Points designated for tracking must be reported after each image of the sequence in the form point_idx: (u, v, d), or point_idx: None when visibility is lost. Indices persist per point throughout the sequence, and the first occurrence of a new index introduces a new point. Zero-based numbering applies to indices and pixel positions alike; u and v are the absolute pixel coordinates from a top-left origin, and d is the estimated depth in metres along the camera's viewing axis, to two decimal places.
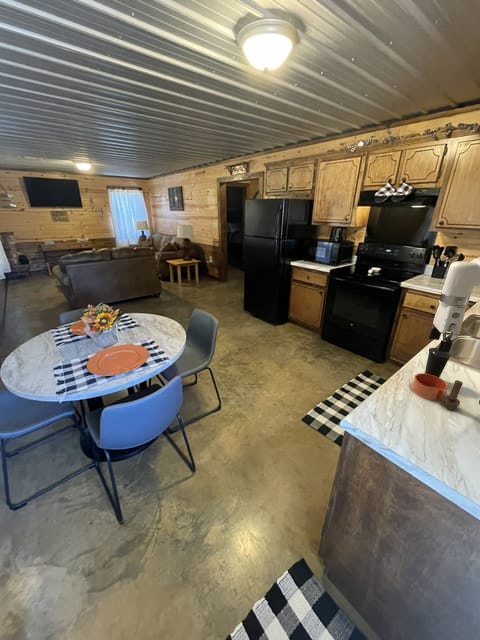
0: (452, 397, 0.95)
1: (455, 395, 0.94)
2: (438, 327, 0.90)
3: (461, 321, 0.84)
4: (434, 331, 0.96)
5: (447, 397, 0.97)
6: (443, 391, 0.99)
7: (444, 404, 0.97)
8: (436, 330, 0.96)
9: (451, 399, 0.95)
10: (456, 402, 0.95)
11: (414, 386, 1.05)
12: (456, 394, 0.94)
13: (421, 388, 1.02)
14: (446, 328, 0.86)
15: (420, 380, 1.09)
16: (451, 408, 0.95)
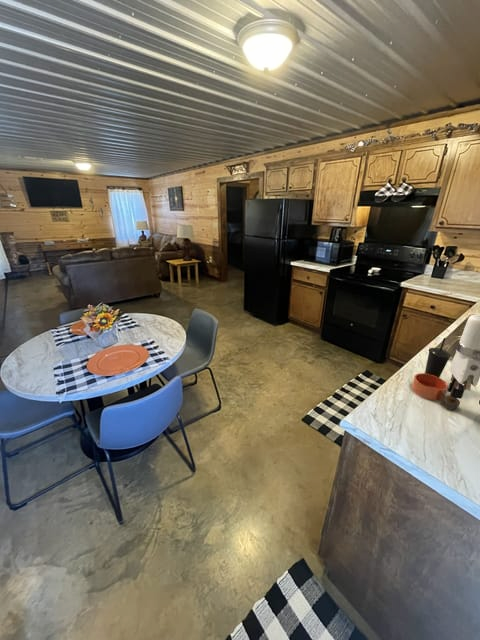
0: (452, 397, 0.95)
1: None
2: (455, 376, 0.92)
3: (479, 373, 0.86)
4: None
5: (447, 397, 0.97)
6: (443, 391, 0.99)
7: (444, 404, 0.97)
8: None
9: (451, 399, 0.95)
10: (456, 402, 0.95)
11: (414, 386, 1.05)
12: None
13: (421, 388, 1.02)
14: (464, 379, 0.88)
15: (420, 380, 1.09)
16: (451, 408, 0.95)
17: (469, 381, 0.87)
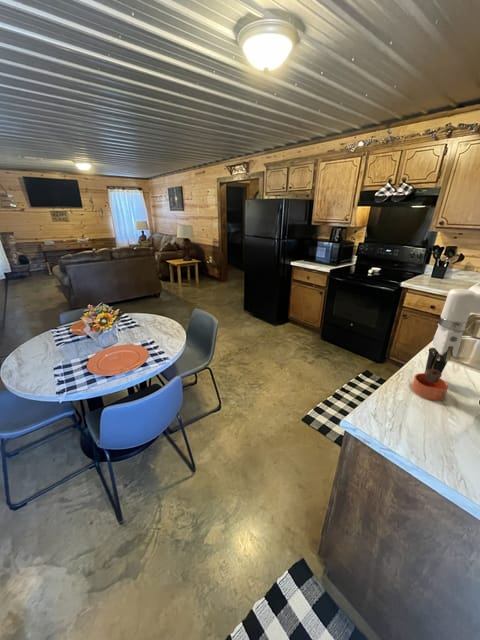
0: (434, 369, 1.00)
1: None
2: (437, 348, 0.97)
3: (458, 344, 0.91)
4: None
5: (430, 370, 1.02)
6: (443, 391, 0.99)
7: (427, 377, 1.02)
8: None
9: (433, 371, 1.00)
10: (438, 374, 1.00)
11: (414, 386, 1.05)
12: None
13: (421, 388, 1.02)
14: (444, 350, 0.93)
15: (420, 380, 1.09)
16: (433, 380, 1.00)
17: (449, 352, 0.92)
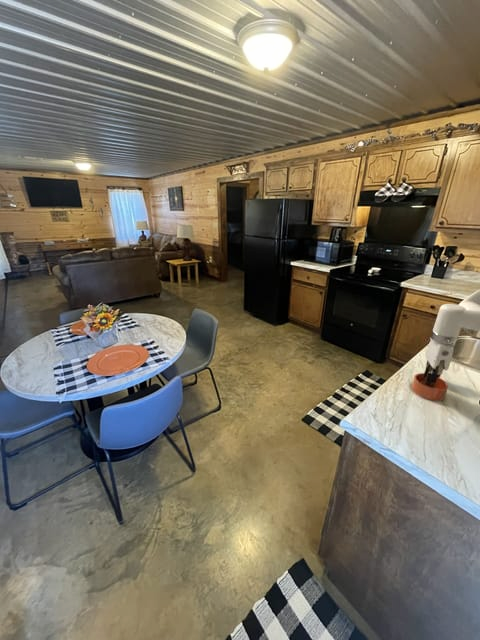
0: None
1: None
2: (430, 361, 0.99)
3: (450, 358, 0.93)
4: (428, 370, 1.03)
5: (423, 382, 1.05)
6: (443, 391, 0.99)
7: None
8: None
9: (426, 383, 1.03)
10: (431, 386, 1.02)
11: (414, 386, 1.05)
12: None
13: (421, 388, 1.02)
14: (436, 364, 0.95)
15: (420, 380, 1.09)
16: None
17: (441, 365, 0.95)
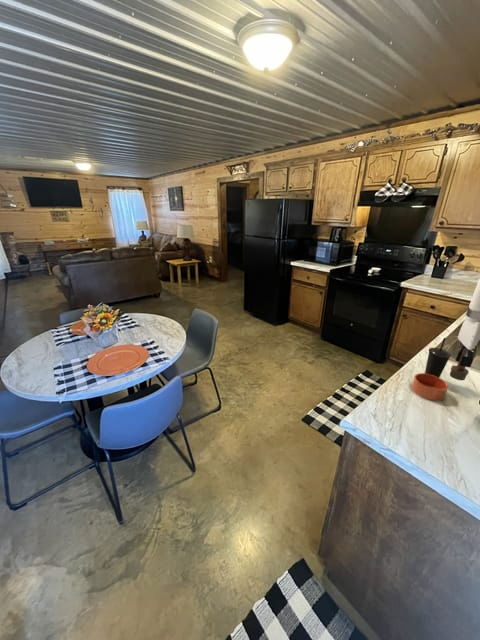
0: (460, 366, 0.91)
1: None
2: (464, 343, 0.88)
3: None
4: (461, 353, 0.91)
5: (455, 367, 0.93)
6: (443, 391, 0.99)
7: (452, 374, 0.93)
8: None
9: (459, 368, 0.92)
10: (464, 371, 0.91)
11: (414, 386, 1.05)
12: None
13: (421, 388, 1.02)
14: (474, 344, 0.84)
15: (420, 380, 1.09)
16: (459, 378, 0.91)
17: (479, 346, 0.83)
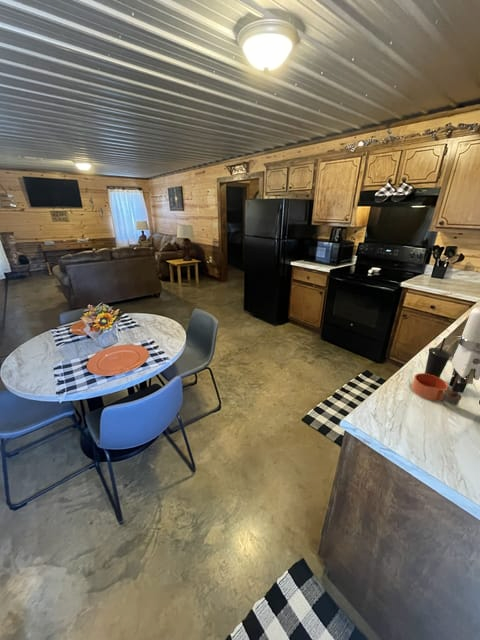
0: (453, 391, 0.94)
1: None
2: (457, 370, 0.91)
3: None
4: None
5: (448, 391, 0.96)
6: (443, 391, 0.99)
7: (445, 399, 0.96)
8: None
9: (452, 393, 0.95)
10: (457, 396, 0.94)
11: (414, 386, 1.05)
12: None
13: (421, 388, 1.02)
14: (466, 373, 0.87)
15: (420, 380, 1.09)
16: (452, 402, 0.94)
17: (471, 375, 0.86)
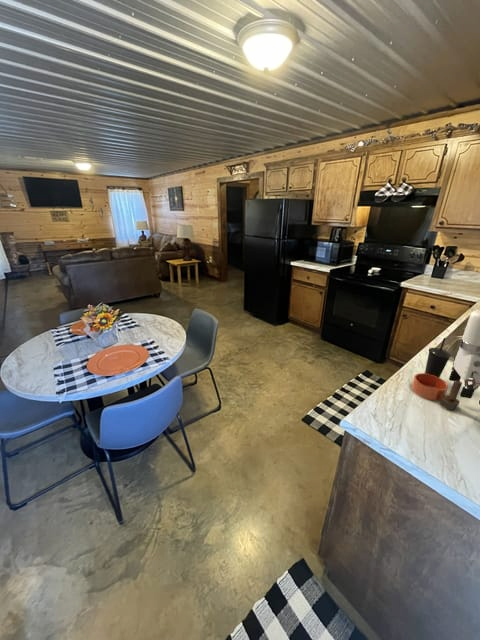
0: (451, 397, 0.95)
1: (454, 395, 0.94)
2: (459, 372, 0.91)
3: None
4: (454, 373, 0.97)
5: (446, 397, 0.97)
6: (443, 391, 0.99)
7: (443, 404, 0.97)
8: (456, 372, 0.97)
9: (450, 399, 0.95)
10: (455, 402, 0.95)
11: (414, 386, 1.05)
12: (455, 394, 0.94)
13: (421, 388, 1.02)
14: (468, 376, 0.87)
15: (420, 380, 1.09)
16: (450, 408, 0.95)
17: (473, 377, 0.87)
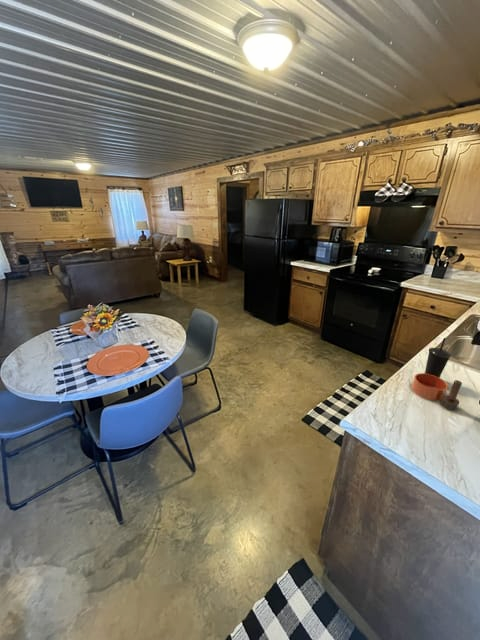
0: (451, 397, 0.95)
1: (454, 395, 0.94)
2: None
3: None
4: (477, 336, 0.90)
5: (446, 397, 0.97)
6: (443, 391, 0.99)
7: (443, 404, 0.97)
8: None
9: (450, 399, 0.95)
10: (455, 402, 0.95)
11: (414, 386, 1.05)
12: (455, 394, 0.94)
13: (421, 388, 1.02)
14: None
15: (420, 380, 1.09)
16: (450, 408, 0.95)
17: None
